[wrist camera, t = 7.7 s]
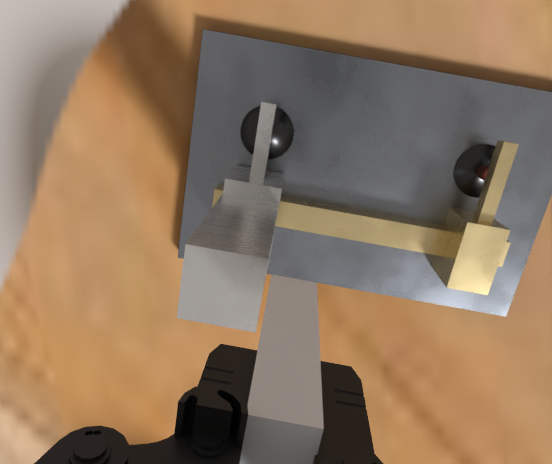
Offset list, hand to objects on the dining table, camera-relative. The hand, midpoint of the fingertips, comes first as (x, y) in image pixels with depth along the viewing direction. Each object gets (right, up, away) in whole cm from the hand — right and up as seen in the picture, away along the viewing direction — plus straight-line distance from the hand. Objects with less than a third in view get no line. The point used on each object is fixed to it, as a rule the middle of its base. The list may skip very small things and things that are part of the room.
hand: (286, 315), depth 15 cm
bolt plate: (+5, +6, +13) cm, 15 cm away
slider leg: (-1, +6, +13) cm, 14 cm away
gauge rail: (+5, +6, +13) cm, 15 cm away
